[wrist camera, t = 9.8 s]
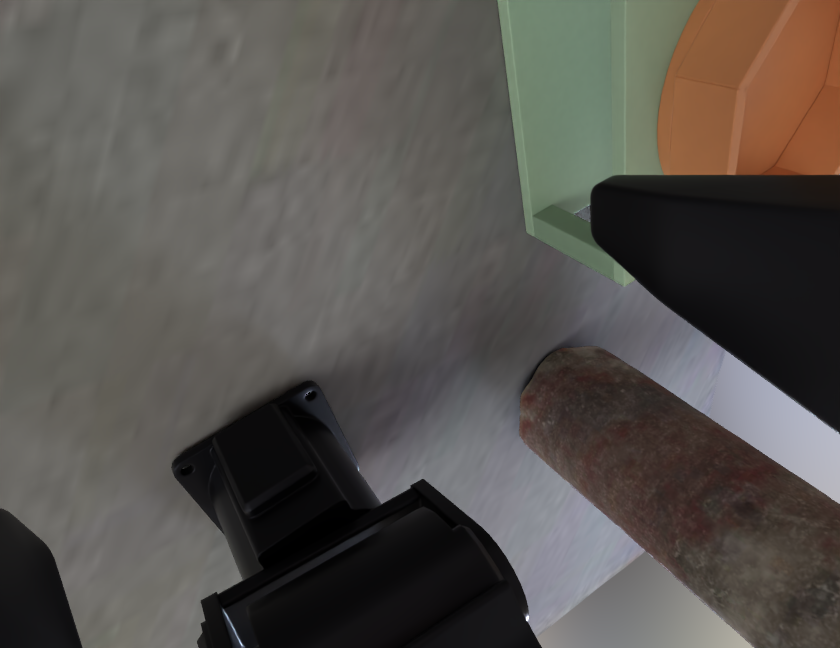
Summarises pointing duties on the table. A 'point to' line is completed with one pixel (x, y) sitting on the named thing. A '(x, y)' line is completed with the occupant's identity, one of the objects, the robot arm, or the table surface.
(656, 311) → the table surface
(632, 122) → the shelf
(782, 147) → the pan
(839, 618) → the candle
